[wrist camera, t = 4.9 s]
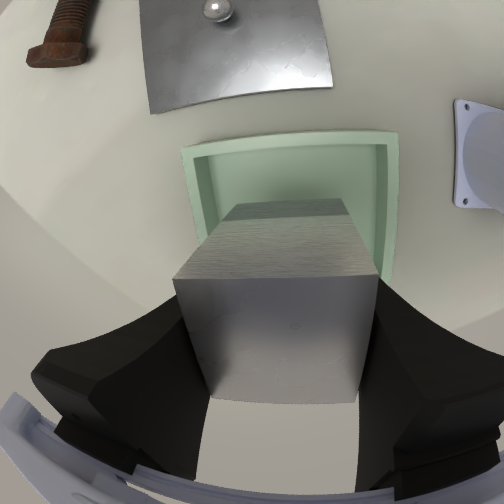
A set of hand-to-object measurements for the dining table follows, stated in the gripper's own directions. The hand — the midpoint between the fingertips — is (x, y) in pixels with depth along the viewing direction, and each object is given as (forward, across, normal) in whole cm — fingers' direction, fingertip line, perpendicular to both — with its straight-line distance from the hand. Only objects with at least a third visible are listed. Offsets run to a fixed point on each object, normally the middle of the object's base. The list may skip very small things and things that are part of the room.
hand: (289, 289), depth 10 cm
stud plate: (+10, +3, -14) cm, 17 cm away
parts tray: (+10, 0, 0) cm, 10 cm away
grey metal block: (+2, 0, 0) cm, 3 cm away
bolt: (+10, +14, -22) cm, 29 cm away
